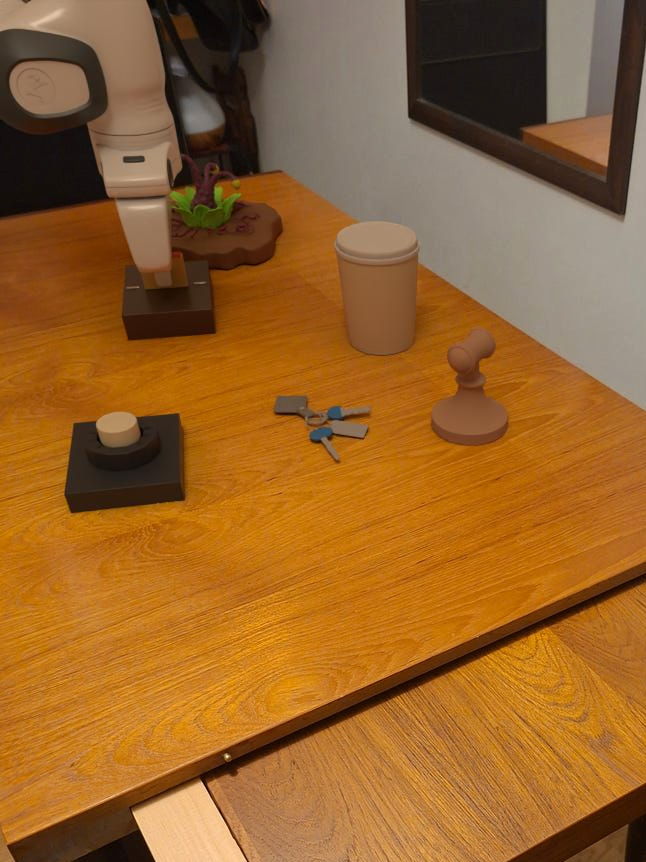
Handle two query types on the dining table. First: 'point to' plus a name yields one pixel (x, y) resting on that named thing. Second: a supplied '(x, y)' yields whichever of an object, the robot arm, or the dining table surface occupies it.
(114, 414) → the button
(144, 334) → the plate
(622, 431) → the dining table surface
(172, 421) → the box
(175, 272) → the lock knob
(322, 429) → the key chain
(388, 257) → the coffee cup
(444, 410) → the door knob
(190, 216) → the plant
